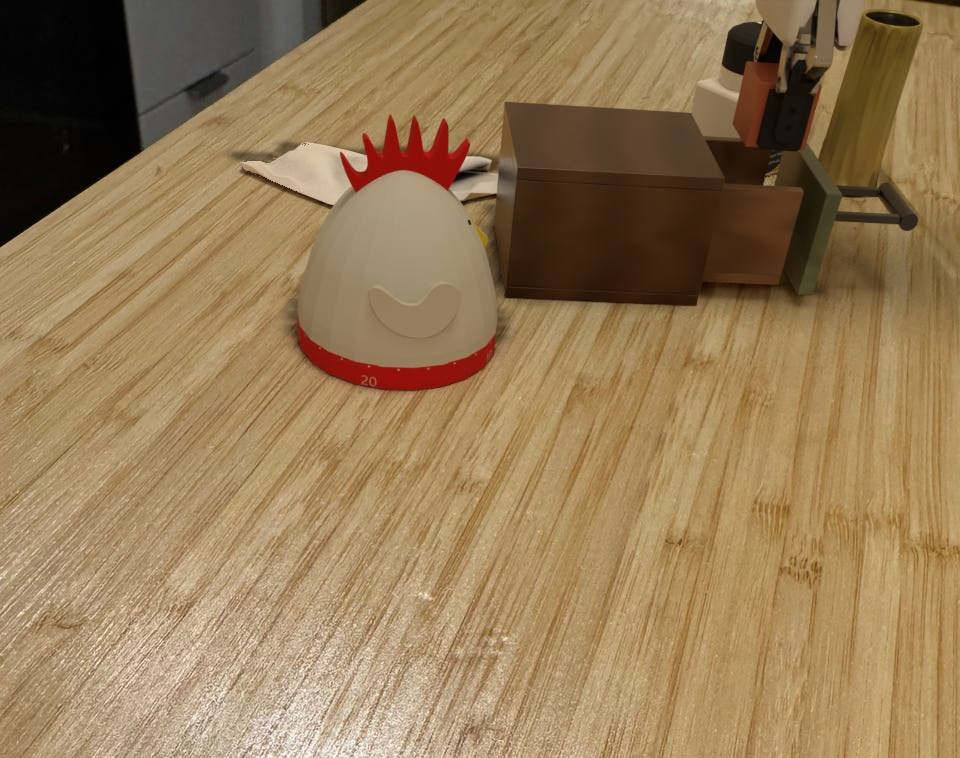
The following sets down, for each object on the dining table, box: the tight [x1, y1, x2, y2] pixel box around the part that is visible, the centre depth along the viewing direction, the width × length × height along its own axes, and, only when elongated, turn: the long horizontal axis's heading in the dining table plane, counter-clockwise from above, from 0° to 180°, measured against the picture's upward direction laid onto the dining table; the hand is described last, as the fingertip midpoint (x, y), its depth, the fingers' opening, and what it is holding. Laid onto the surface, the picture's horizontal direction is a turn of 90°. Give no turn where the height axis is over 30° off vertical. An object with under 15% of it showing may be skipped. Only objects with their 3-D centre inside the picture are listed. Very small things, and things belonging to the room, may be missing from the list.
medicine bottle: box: [690, 21, 783, 177], centre depth 104 cm, size 7×7×12 cm
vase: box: [817, 8, 924, 187], centre depth 102 cm, size 6×6×14 cm
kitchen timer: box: [296, 114, 499, 391], centre depth 75 cm, size 14×14×15 cm
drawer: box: [702, 136, 919, 296], centre depth 89 cm, size 21×12×8 cm, turn 93°
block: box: [733, 61, 823, 150], centre depth 83 cm, size 4×4×4 cm
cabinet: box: [493, 101, 725, 307], centre depth 88 cm, size 15×13×10 cm
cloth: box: [239, 141, 498, 206], centre depth 98 cm, size 26×14×2 cm, turn 80°
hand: (769, 132), depth 85 cm, fingers closed on block, 4 cm apart
